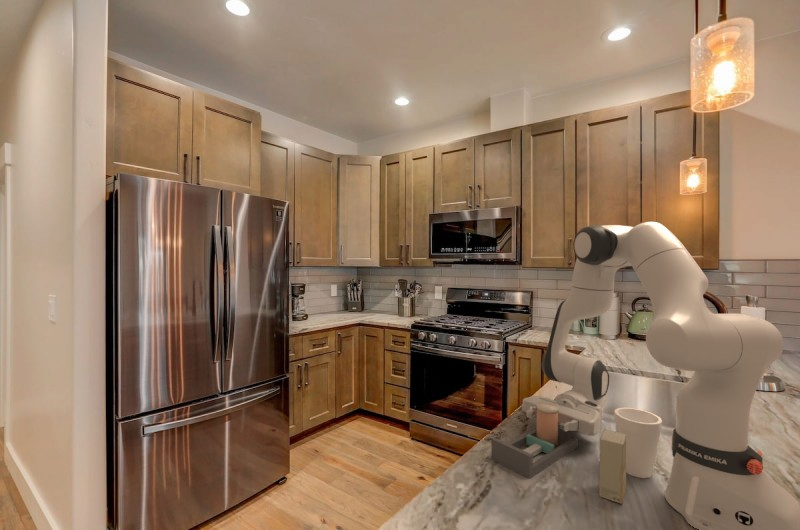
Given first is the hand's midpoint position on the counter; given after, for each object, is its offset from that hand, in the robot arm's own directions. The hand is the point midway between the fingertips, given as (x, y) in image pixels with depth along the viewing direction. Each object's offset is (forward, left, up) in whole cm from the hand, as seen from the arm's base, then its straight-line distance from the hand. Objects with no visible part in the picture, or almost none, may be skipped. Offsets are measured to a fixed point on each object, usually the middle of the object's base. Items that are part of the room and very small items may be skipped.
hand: (545, 421), depth 97 cm
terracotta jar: (0, -1, -7) cm, 7 cm away
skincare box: (-19, +7, -7) cm, 21 cm away
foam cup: (-19, -7, -7) cm, 22 cm away
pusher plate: (0, +5, -7) cm, 9 cm away
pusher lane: (0, +4, -7) cm, 8 cm away
